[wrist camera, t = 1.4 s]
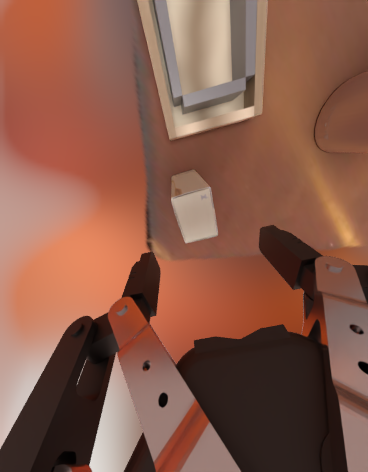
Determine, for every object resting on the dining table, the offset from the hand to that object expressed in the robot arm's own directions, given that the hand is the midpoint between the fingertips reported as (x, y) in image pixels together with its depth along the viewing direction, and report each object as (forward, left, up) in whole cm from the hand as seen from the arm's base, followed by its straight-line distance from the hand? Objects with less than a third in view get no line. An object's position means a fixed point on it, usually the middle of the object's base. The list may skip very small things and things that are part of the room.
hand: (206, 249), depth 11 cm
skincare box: (0, 0, -18) cm, 18 cm away
